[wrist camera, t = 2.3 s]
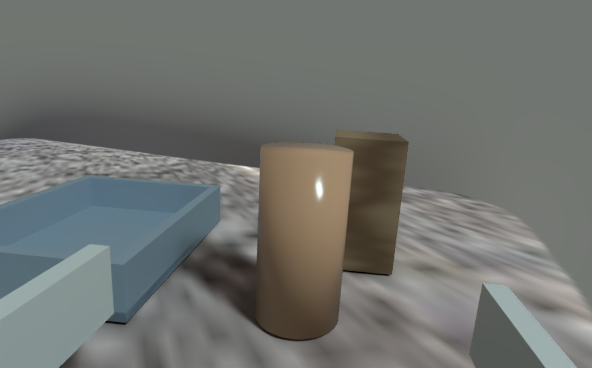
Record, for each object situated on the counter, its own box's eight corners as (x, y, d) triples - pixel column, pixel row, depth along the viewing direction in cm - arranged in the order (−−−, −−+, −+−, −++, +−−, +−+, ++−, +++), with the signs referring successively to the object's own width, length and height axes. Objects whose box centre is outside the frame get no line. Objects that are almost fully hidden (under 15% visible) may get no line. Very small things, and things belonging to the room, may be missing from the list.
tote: (-96, 297, 23) (-108, 241, 22) (90, 208, 40) (87, 175, 39) (126, 323, 21) (123, 264, 21) (220, 220, 38) (220, 185, 38)
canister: (246, 333, 21) (251, 152, 19) (263, 288, 26) (269, 139, 24) (338, 344, 21) (355, 160, 18) (338, 296, 26) (352, 145, 23)
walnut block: (325, 268, 29) (335, 136, 27) (326, 243, 34) (336, 129, 32) (391, 274, 29) (408, 141, 27) (384, 248, 34) (397, 134, 31)
